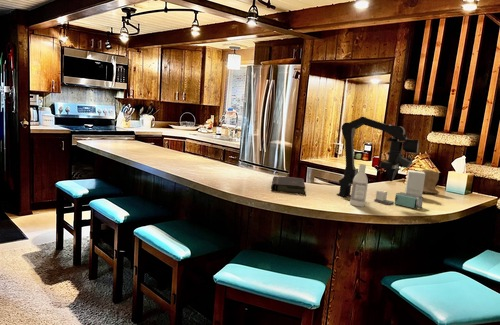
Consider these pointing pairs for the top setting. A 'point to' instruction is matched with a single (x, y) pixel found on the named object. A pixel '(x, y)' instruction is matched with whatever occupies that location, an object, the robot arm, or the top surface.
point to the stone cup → (430, 181)
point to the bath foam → (359, 187)
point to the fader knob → (381, 195)
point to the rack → (418, 199)
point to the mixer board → (384, 201)
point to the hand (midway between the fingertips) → (390, 181)
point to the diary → (288, 185)
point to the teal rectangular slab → (405, 201)
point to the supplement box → (415, 182)
